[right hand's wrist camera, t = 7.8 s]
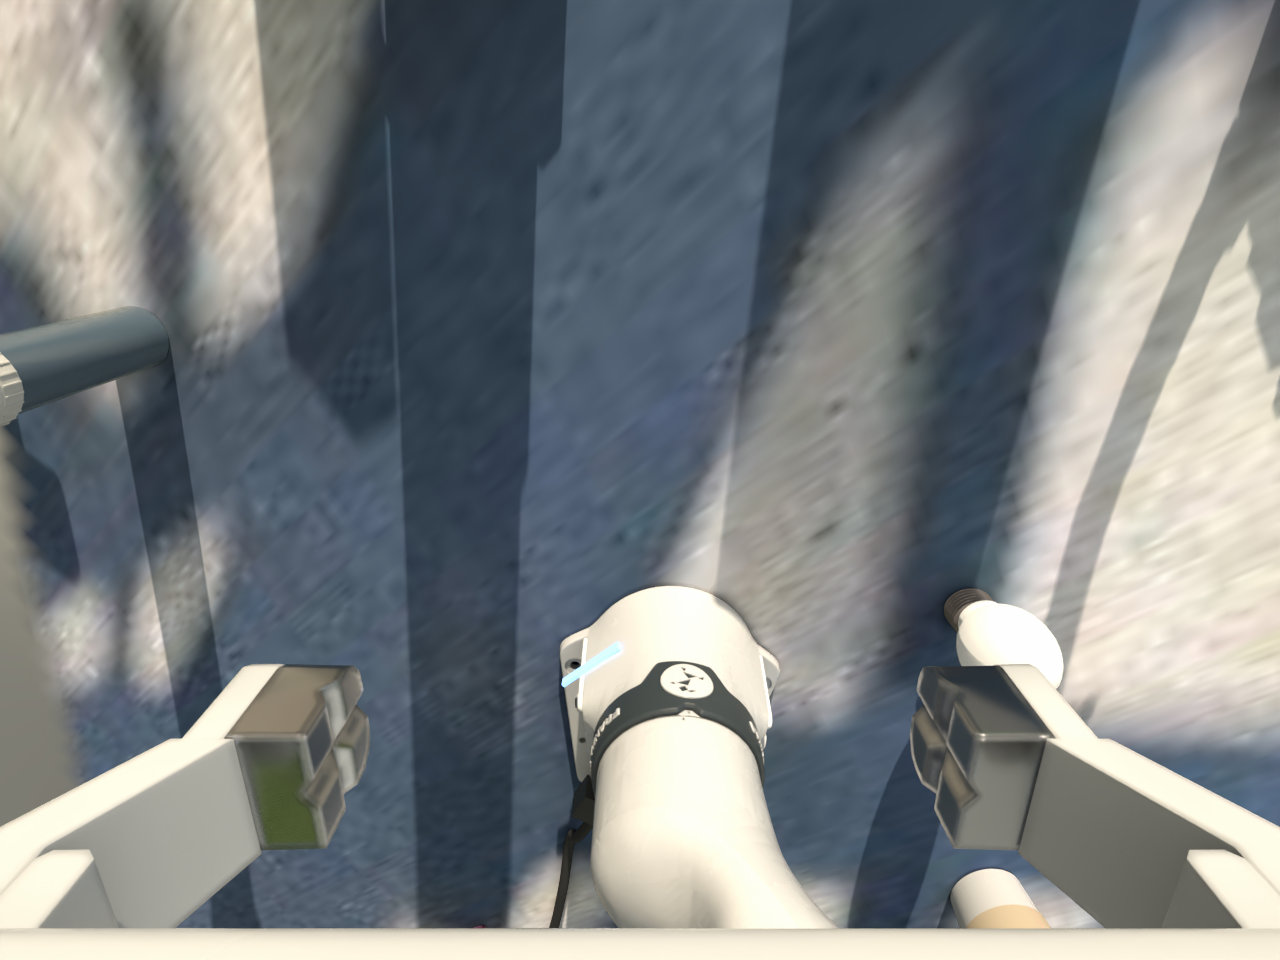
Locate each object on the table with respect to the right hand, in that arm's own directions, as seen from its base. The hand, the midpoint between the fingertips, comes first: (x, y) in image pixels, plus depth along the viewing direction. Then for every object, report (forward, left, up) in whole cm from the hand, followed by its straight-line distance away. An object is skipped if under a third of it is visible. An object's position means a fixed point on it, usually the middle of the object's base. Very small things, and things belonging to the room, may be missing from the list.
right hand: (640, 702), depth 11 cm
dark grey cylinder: (-7, +36, -44) cm, 57 cm away
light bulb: (-22, -30, -44) cm, 57 cm away
